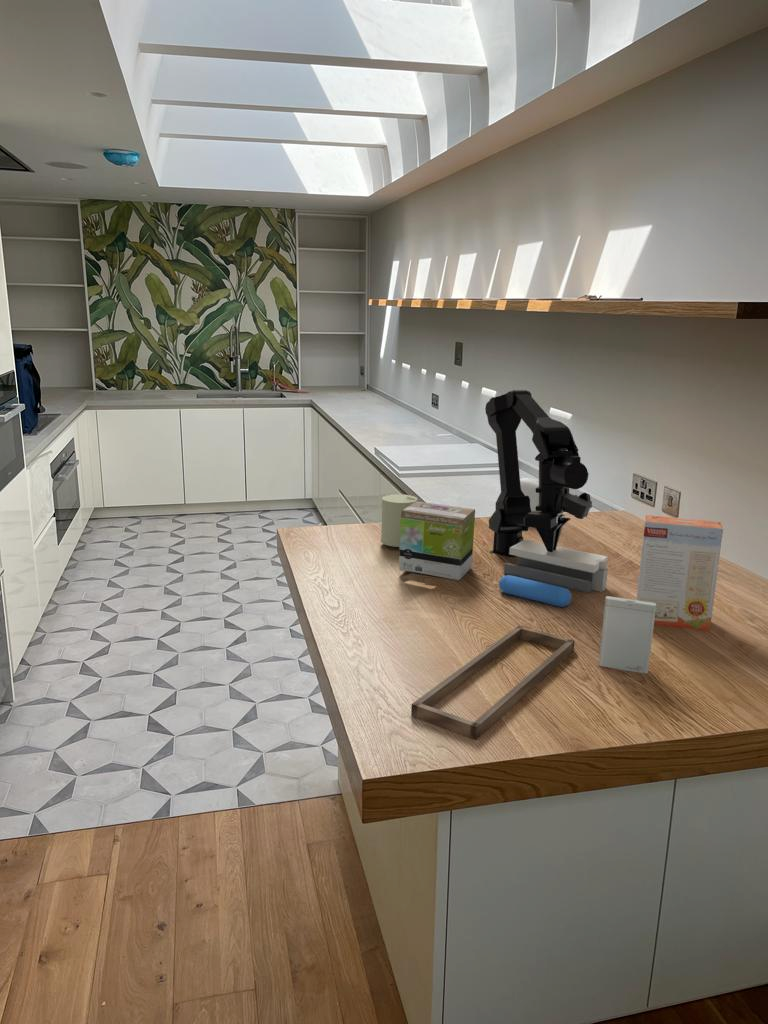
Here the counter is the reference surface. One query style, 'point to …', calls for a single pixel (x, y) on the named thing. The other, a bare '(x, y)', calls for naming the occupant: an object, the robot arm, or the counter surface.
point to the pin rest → (460, 725)
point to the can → (393, 517)
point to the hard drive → (627, 634)
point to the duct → (558, 575)
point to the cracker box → (680, 570)
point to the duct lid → (560, 556)
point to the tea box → (436, 540)
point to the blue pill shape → (535, 590)
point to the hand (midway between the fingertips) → (551, 551)
